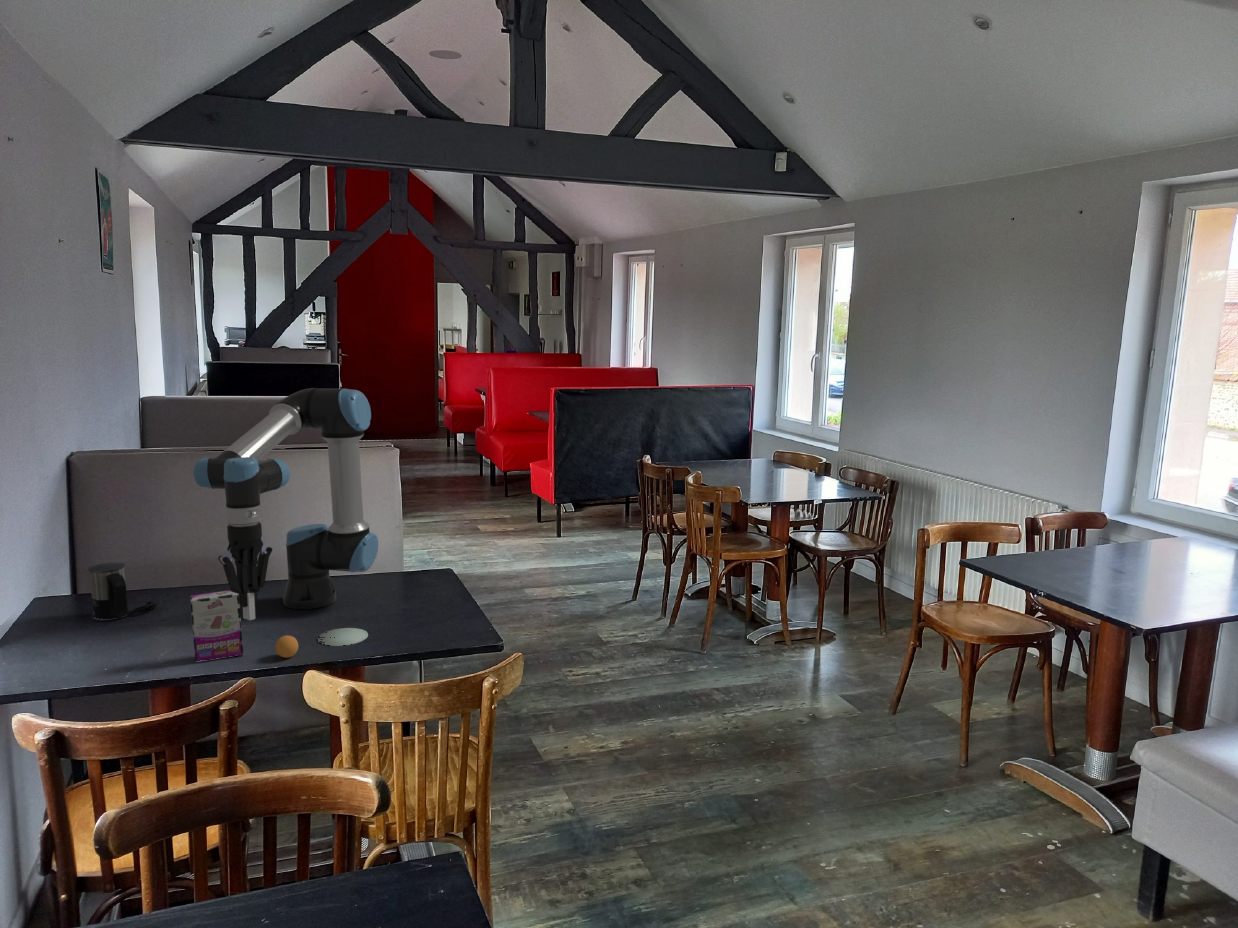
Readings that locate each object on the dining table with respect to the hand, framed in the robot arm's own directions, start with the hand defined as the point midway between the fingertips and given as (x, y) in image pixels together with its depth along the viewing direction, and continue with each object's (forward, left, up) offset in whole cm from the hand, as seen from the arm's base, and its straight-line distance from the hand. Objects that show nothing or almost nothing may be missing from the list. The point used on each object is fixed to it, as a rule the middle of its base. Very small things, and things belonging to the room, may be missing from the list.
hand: (249, 618), depth 210 cm
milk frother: (-64, +2, -13) cm, 66 cm away
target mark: (0, +27, -13) cm, 30 cm away
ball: (0, +10, -10) cm, 14 cm away
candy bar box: (-14, 0, -13) cm, 19 cm away
